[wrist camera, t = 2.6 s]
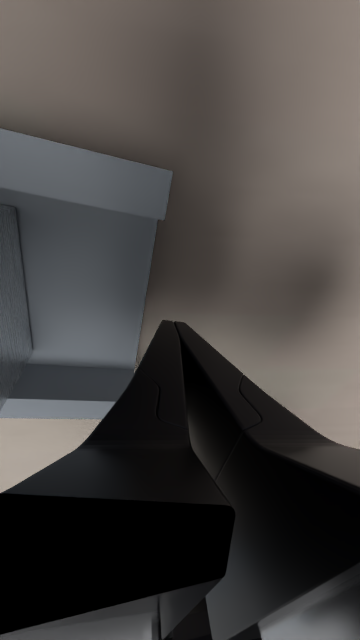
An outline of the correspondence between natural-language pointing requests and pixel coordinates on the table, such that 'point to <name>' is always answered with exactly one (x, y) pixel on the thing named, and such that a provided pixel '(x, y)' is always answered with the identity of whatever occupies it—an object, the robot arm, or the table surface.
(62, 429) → the table surface
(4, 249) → the gauge sled
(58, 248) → the track
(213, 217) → the table surface
